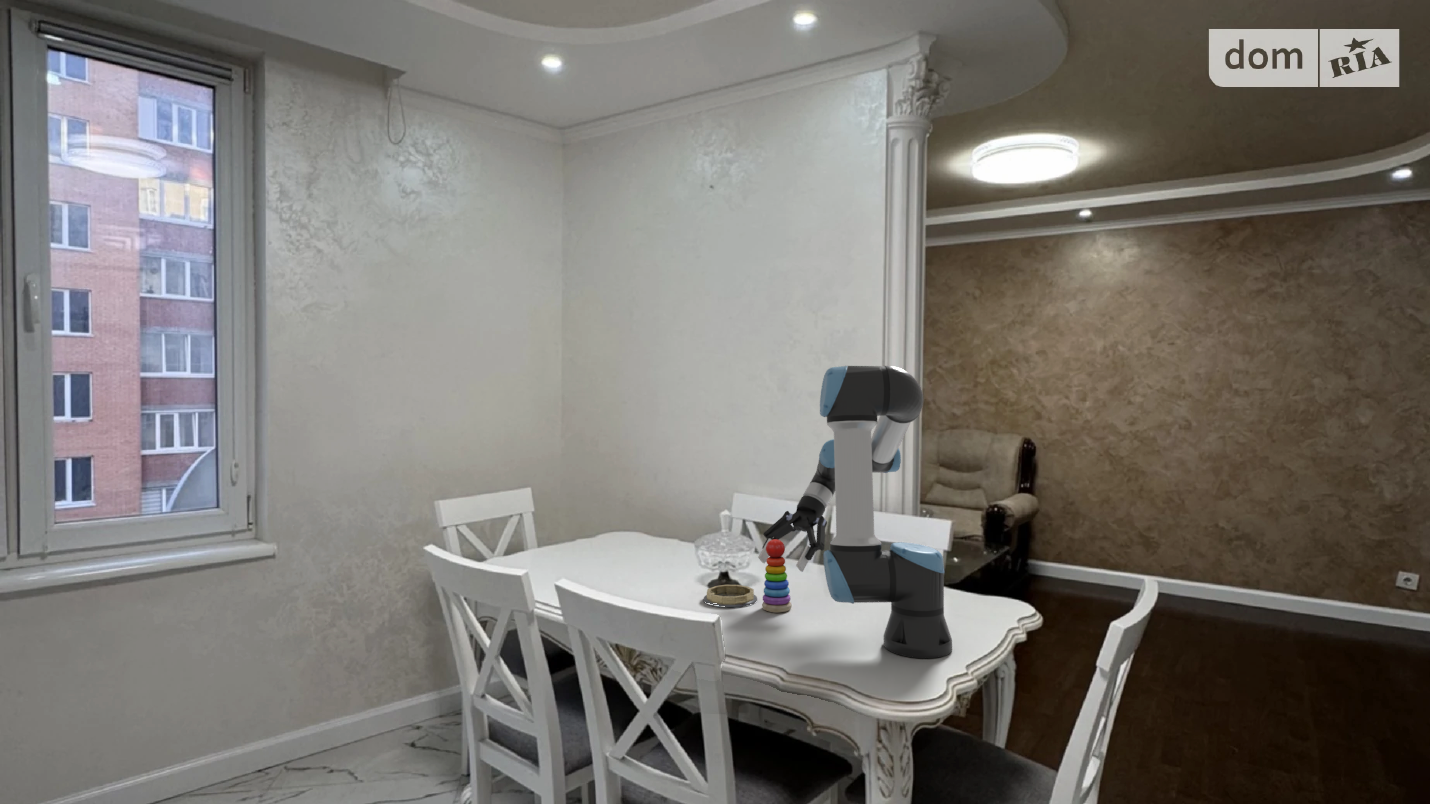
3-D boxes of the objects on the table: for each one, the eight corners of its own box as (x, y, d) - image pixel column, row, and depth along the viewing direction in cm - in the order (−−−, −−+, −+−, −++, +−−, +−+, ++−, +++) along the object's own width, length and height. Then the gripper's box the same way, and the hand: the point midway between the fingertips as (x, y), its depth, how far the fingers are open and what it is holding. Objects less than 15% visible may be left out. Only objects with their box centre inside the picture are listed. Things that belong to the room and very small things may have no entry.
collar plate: (756, 608, 205) (756, 598, 205) (701, 607, 206) (701, 598, 206) (757, 593, 220) (757, 584, 220) (706, 592, 221) (706, 583, 221)
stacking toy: (796, 607, 205) (796, 538, 204) (783, 615, 198) (782, 544, 198) (770, 603, 209) (770, 535, 209) (756, 610, 202) (756, 541, 202)
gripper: (856, 515, 208) (822, 580, 198) (786, 505, 226) (753, 564, 216) (844, 498, 205) (809, 564, 195) (774, 490, 223) (739, 549, 213)
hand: (779, 564), depth 205 cm, fingers open, 13 cm apart
